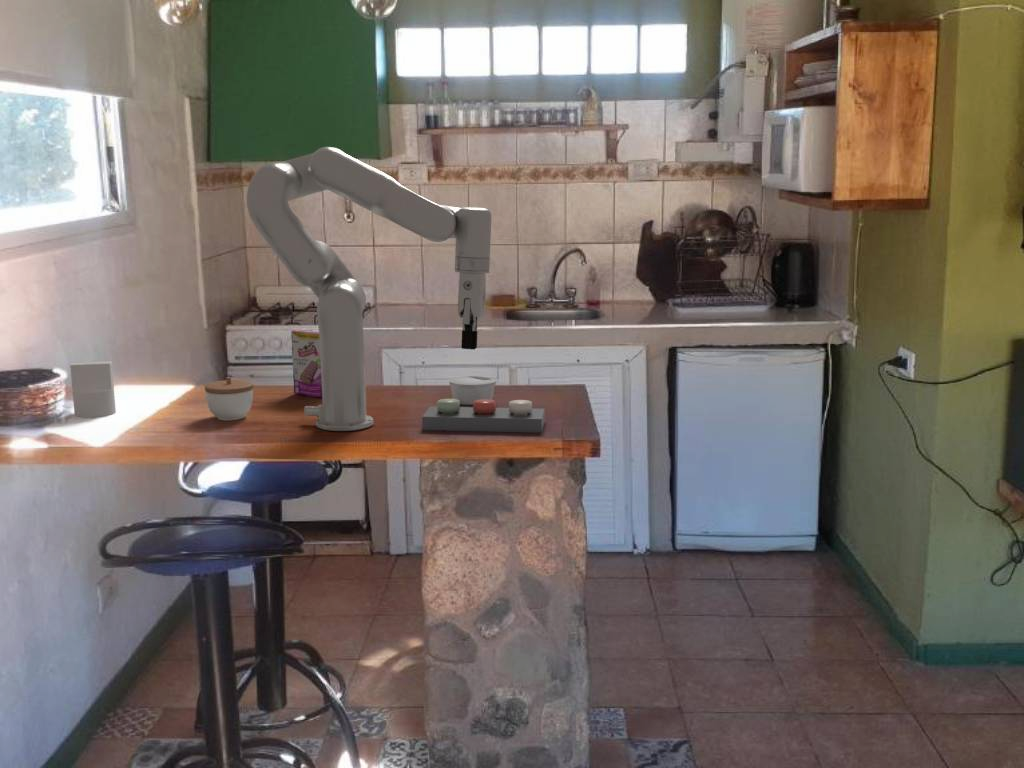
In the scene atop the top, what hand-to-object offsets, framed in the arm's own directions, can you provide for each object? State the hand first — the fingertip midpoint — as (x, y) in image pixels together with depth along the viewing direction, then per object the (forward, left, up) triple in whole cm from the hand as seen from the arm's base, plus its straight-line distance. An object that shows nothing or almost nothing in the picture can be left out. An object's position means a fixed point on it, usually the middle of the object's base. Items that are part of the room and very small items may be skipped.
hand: (469, 348), depth 235 cm
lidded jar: (-55, +1, -17) cm, 58 cm away
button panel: (+4, -2, -17) cm, 17 cm away
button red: (+4, -2, -16) cm, 17 cm away
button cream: (+12, -2, -16) cm, 20 cm away
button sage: (-4, -2, -16) cm, 17 cm away
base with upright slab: (-88, +2, -17) cm, 90 cm away
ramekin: (-2, +23, -17) cm, 29 cm away
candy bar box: (-42, +26, -17) cm, 53 cm away
